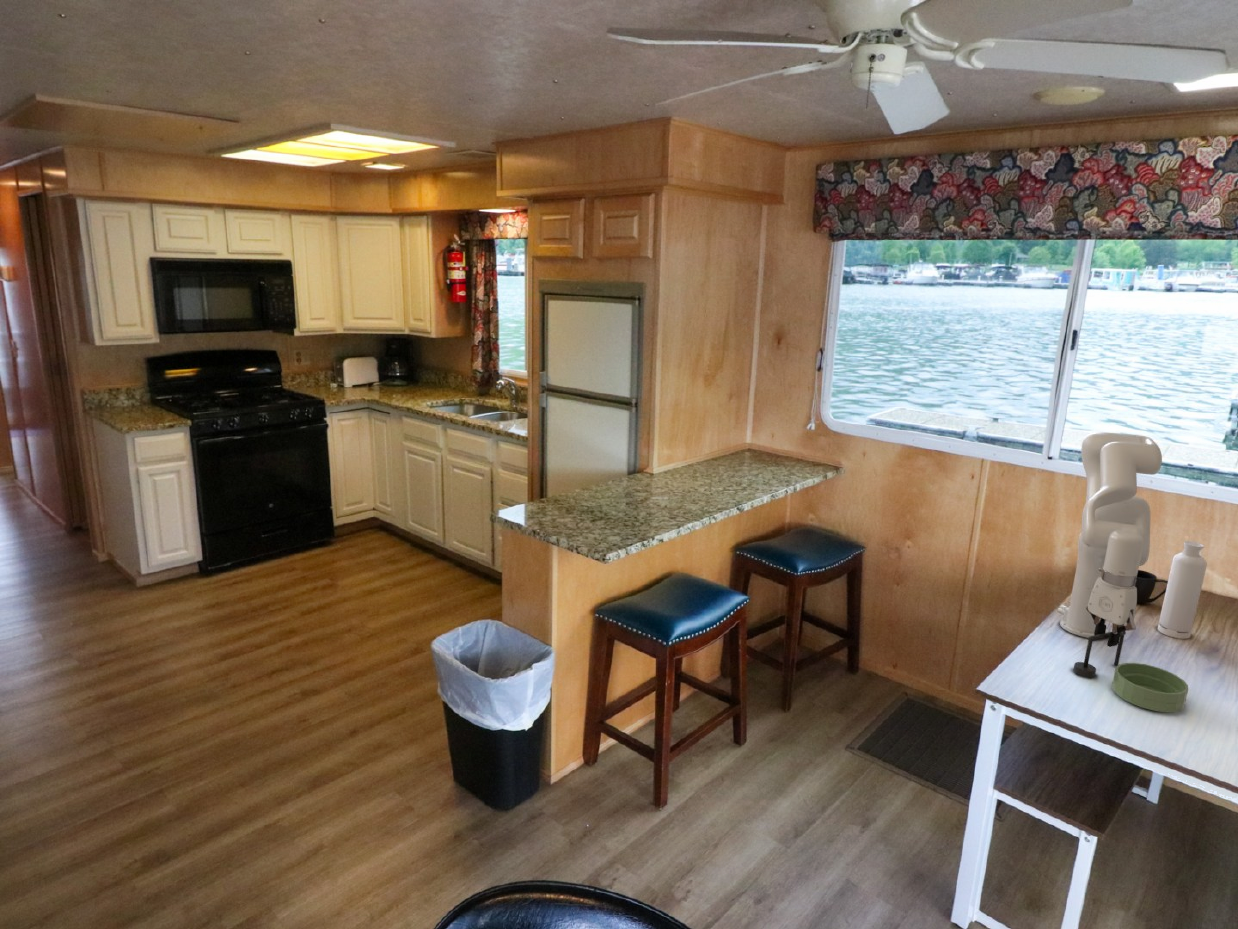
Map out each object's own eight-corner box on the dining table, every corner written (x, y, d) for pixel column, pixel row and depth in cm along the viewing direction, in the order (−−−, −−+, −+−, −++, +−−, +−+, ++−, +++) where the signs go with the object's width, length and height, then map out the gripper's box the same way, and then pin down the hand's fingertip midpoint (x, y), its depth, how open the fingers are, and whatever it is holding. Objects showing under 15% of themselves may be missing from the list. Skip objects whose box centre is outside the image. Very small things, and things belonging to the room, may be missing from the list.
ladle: (1108, 661, 214) (1116, 625, 211) (1126, 670, 209) (1134, 633, 207) (1068, 670, 208) (1075, 633, 206) (1085, 679, 204) (1093, 642, 201)
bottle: (1160, 623, 238) (1180, 537, 231) (1192, 633, 233) (1213, 544, 226) (1154, 631, 233) (1174, 543, 226) (1186, 641, 227) (1208, 551, 220)
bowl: (1097, 687, 200) (1101, 668, 199) (1138, 677, 206) (1142, 659, 204) (1156, 719, 186) (1160, 698, 185) (1198, 708, 192) (1202, 688, 191)
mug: (1164, 612, 247) (1170, 584, 244) (1119, 601, 254) (1125, 574, 251) (1165, 603, 253) (1171, 576, 251) (1122, 593, 260) (1127, 567, 258)
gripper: (1079, 568, 209) (1067, 631, 213) (1139, 592, 194) (1124, 659, 198) (1099, 565, 211) (1087, 627, 216) (1159, 588, 197) (1145, 654, 201)
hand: (1105, 642), depth 207 cm, fingers open, 3 cm apart
